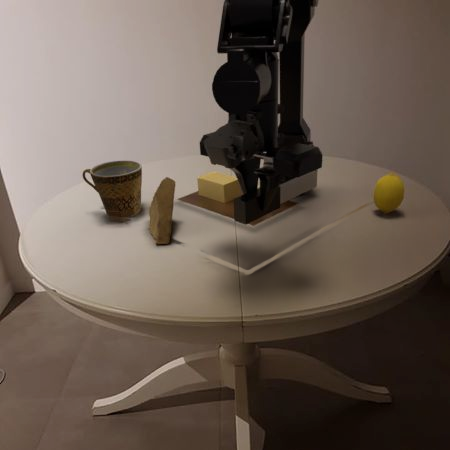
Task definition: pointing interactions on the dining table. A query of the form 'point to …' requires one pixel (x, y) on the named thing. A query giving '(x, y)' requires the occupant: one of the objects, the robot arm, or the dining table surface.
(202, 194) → the butter stick
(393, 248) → the dining table surface
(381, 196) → the lemon
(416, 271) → the dining table surface
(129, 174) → the ceramic cup
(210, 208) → the butter board
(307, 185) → the knife
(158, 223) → the rock
